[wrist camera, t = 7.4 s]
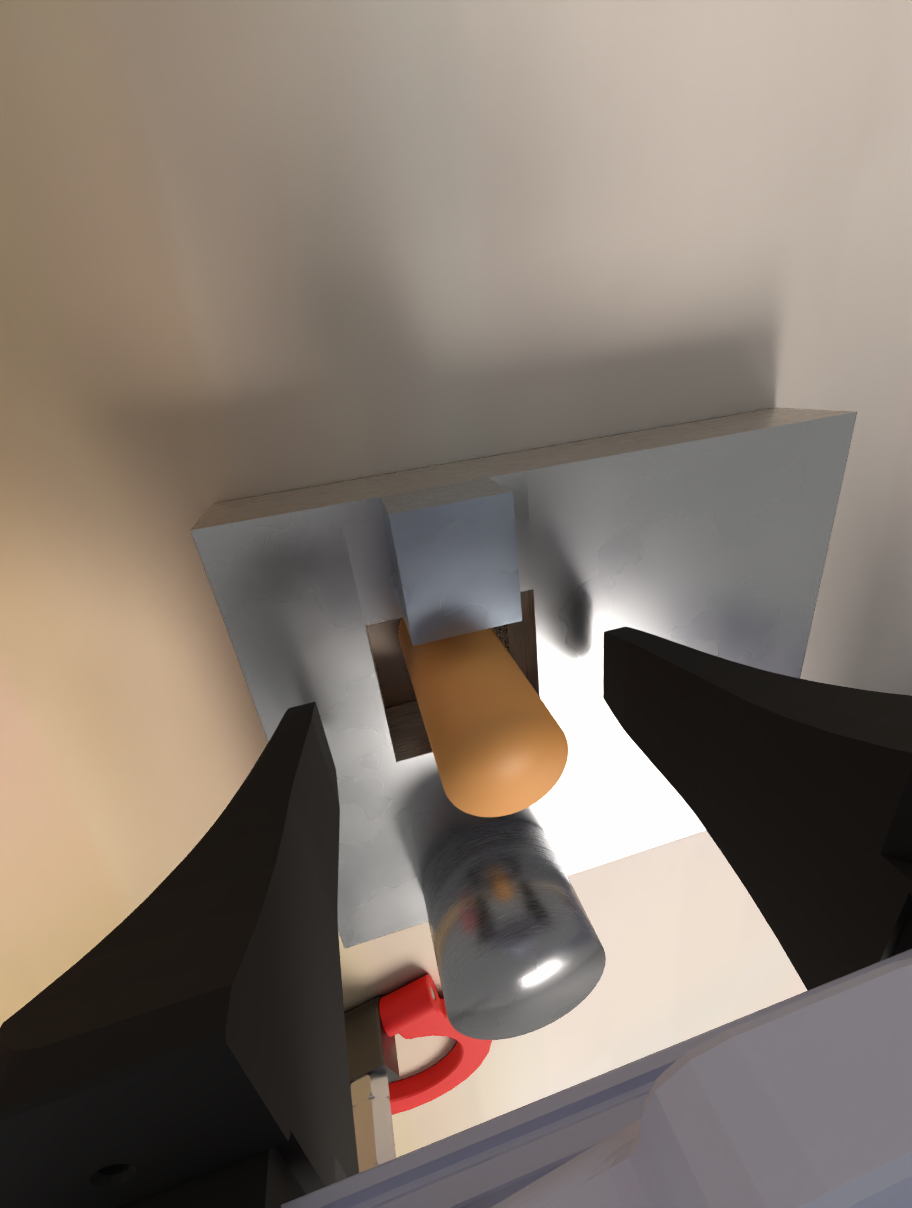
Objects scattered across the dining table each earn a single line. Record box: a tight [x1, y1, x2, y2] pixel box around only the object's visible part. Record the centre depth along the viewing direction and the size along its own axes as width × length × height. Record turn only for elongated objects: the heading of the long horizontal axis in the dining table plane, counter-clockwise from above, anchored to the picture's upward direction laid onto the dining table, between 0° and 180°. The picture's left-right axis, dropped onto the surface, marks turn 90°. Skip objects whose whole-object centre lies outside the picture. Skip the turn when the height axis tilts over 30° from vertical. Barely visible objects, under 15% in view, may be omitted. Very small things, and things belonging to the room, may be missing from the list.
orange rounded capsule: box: [398, 618, 569, 817], centre depth 12 cm, size 3×3×6 cm
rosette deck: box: [191, 408, 857, 1040], centre depth 14 cm, size 16×15×6 cm
